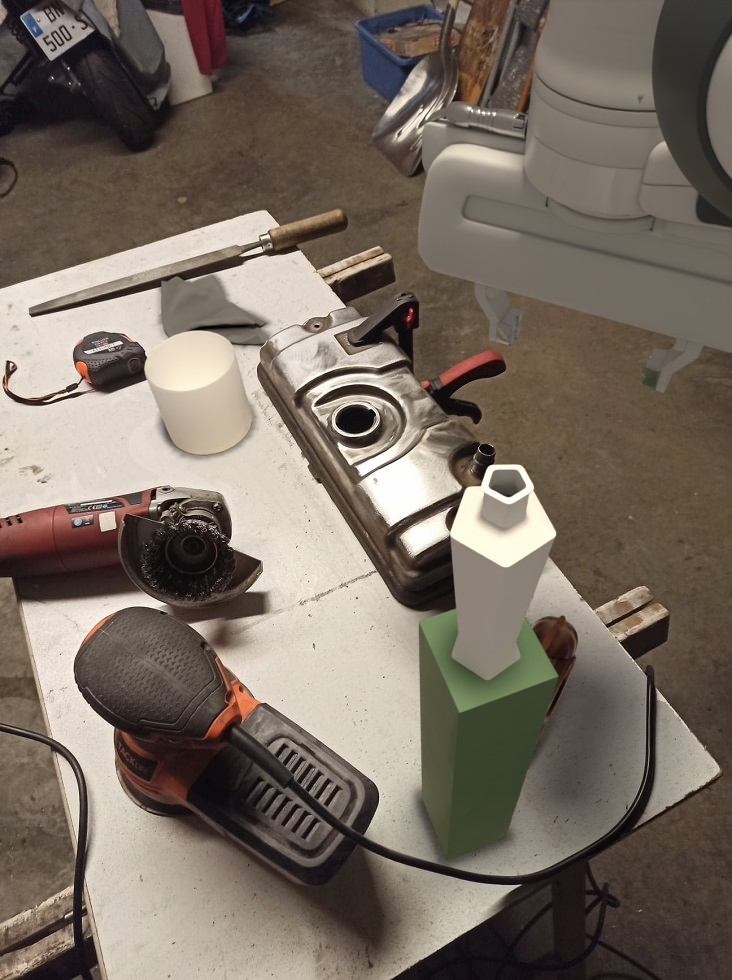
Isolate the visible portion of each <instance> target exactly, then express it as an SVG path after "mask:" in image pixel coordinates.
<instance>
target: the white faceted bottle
mask: <svg viewBox="0 0 732 980" xmlns="http://www.w3.org/2000/svg"><path fill="white" fill-rule="evenodd" d="M534 490H535V486H534V483H533V482H532V480H531V479H530V476H529V475H528V473H527V471H526V469H525V467H523V466H522V465H520V464H491V465H488V467H487V468H486V470H485V473H484V476H483V479H482V482H481V485H478V486H475V485H473V486H468V487H467V488H465V490H464V492H463V494H462V495H463V496H462V498H461V501H460V504H459V507H458V510H457V512H456V514H455V518H454V520H453V524H452V527H451V530H450V533H449V535H450V536H449V537H450V547H451V560H452V572H453V585H454V587H453V588H454V597H455V598H454V599H455V609H456V611H457V623H458V635H457V638H456V641H455V644H454V648H453V651H452V655H451V656H452V658H453V659H454V660H456V661H457V662H459V663H460V664H462V665H463V666H465V667H466V668H468V669H469V670H471V671H472V672H474V673H475V674H477V675H478V676H480V677H481V678H483V679H485V680H490V679H492V678H493V677H495V676H496V675H498V674H499V673H501V672H502V671H503V670H505V669H506V668H508V667H509V666H511V665H512V664H513V663H515V662H516V661H518V660H519V659H520V652H519V649H518V645H517V642H516V641H517V638H518V636H519V633H520V630H521V628H522V625H523V622H524V620H525V617H526V618H527V614H528V612H529V609H530V606H531V603H532V600H533V598H534V595H535V593H536V591H537V587H538V585H539V583H540V582H539V581H540V578H541V576H542V575H543V574H542V573H543V571H544V569H545V566H546V564H547V561H548V557H549V555H550V553H551V549H552V547H553V544H554V542H555V539H556V536H557V531H556V529H555V528H554V525H553V524H552V522H551V520H550V519H549V516H548V515H547V513H546V511H545V509H544V507H543V505H542V504H541V502H540V500H539V498H538V496H537V495H536V493H535V491H534Z"/></svg>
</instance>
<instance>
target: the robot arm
mask: <svg viewBox="0 0 732 980" xmlns="http://www.w3.org/2000/svg"><path fill="white" fill-rule="evenodd" d="M543 26H544V27H543V29H542V32H541V34H540V37H539V39H538V42H537V46H536V49H535V54H534V61H533V69H532V79H531V87H530V88H531V89H530V97H529V106H528V107H529V108H528V112H523V111H516V110H513V109H512V110H511V109H505V108H492V107H491V108H490V107H482V106H478V105H477V104H475V103H472V102H469V101H461V100H460V101H459V100H458V101H457V100H456V101H450V103H449V104H448V105H447V107H442V108H439V109H437V110H435V111H433V112H432V113H431V114H430V115H429V116H428V118H427V119H426V121H425V123H424V125H423V128H422V133H421V162H422V166H423V170H424V172H425V174H426V177H425V182H424V186H423V192H422V198H421V204H420V211H419V219H418V229H417V230H418V231H417V253H418V254H419V256H420V258H421V259H422V261H423V262H424V264H425V265H426V266H427V268H428V269H429V270H431V271H432V272H436V273H439V274H443V275H446V276H451V277H454V278H457V279H461V280H465V281H469V282H472V283H474V286H473V295H474V297H475V299H476V301H477V302H478V304H479V306H480V308H481V310H482V312H483V313H484V315H485V317H486V319H487V320H489V327H488V340H489V341H492V342H494V343H497V344H500V345H505V346H508V347H512V346H513V344H514V343H515V340H517V339H518V337H519V336H520V333H521V330H522V323H521V322H522V320H523V315H524V309H522V308H518V307H514V306H512V303H511V302H510V300H509V297H508V294H507V292H509V293H512V294H515V295H519V296H522V297H527V298H531V299H534V300H537V301H541V302H545V303H548V304H552V305H556V306H559V307H563V308H566V309H570V310H574V311H577V312H580V313H584V314H588V315H592V316H595V317H600V318H602V319H607V320H610V321H613V322H616V323H621V324H624V325H629V326H632V327H636V328H639V329H643V330H646V331H650V332H653V333H657V334H660V335H665V336H668V337H672V338H675V341H674V344H673V346H671V347H670V348H669V349H668V350H667V349H662V348H660V347H655V346H654V347H653V348H652V350H651V352H650V354H649V357H648V358H647V360H646V362H645V364H644V367H643V370H642V372H641V375H642V376H641V378H640V379H639V383H638V386H641V387H643V388H647V389H649V390H653V391H656V392H658V393H662V394H665V392H666V390H667V388H668V385H669V383H670V381H671V378H672V376H673V375H674V374H675V373H676V372H679V371H680V370H681V369H683V368H685V367H686V366H687V365H689V364H691V363H692V362H694V361H696V360H697V359H699V357H700V355H701V353H702V350H703V348H704V347H708V348H711V349H715V350H718V351H722V352H725V353H726V352H727V353H729V354H732V0H549V7H548V12H547V16H546V20H545V23H544V25H543Z"/></svg>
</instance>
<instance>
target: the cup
mask: <svg viewBox="0 0 732 980" xmlns="http://www.w3.org/2000/svg"><path fill="white" fill-rule="evenodd" d="M240 369H241V368H240V364H239V362H238V357H237V354H236V350H235V348H234V346H233V343H232V342H230V341H229V340H227V339H226V338H225V337H223V336H221V335H219V334H217V333H213V332H209V331H189V332H184V333H180V334H177V335H174V336H172V337H168V338H165V339H164V340H163V341H160V342H159V343H158V344H157V345H156V346H155V347H154V348H153V349H152V350H151V351H150V352H149V354H148V355H147V357H146V360H145V363H144V368H143V370H144V371H143V372H144V375H145V378H146V381H147V383H148V385H149V388H150V391H151V393H152V396H153V399H154V401H155V403H156V405H157V408H158V411H159V414H160V416H161V418H162V421H163V423H164V425H165V427H166V431H167V433H168V435H169V438H170V439H171V441H172V444H173V445H174V446H176V448H178V449H179V450H181V451H183V452H185V453H189V454H192V455H199V456H200V455H201V456H204V455H206V456H207V455H214V454H219V453H222V452H224V451H227V450H229V449H231V448H232V447H234V446H236V445H238V444H239V443H240V442H241V441H242V440H243V439H244V438H245V437H246V435H248V432H250V429H251V425H252V422H253V416H252V410H251V407H250V403H249V399H248V395H247V392H246V388H245V384H244V379H243V377H242V373H241V370H240Z"/></svg>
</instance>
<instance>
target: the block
mask: <svg viewBox="0 0 732 980" xmlns="http://www.w3.org/2000/svg"><path fill="white" fill-rule="evenodd" d="M532 628H533V626H532V625H531V624H530V621H529V620H528V618H527V616H526V617H525V620H524V622H523V625H522V628H521V630H520V633H519V636H518V638H517V641H516V642H517V645H518V649H519V652H520V659H519V660H518V661H516V662H515V663H513V664H512V665H511V666H509V667H508V668H506V669H505V670H503V671H502V672H501V673H499V674H498V675H496V676H495V677H493V678H492V679H490V680H485V679H483V678H481V677H480V676H478V675H477V674H475V673H474V672H472V671H471V670H469V669H468V668H466V667H465V666H463V665H462V664H460V663H459V662H457V661H456V660H454V659H453V658H452V656H451V655H452V651H453V648H454V644H455V641H456V638H457V635H458V623H457V611H456V608H453V609H450V610H447V611H443V612H442V613H441V612H440V613H439V614H436V615H433V616H430V617H427V618H424V619H422V620H419V621H418V662H419V664H418V665H419V666H418V667H419V668H418V669H419V672H418V673H419V713H420V714H419V716H420V717H419V719H420V721H419V722H420V767H421V769H420V770H421V774H420V775H421V799H422V801H423V804H424V807H425V809H426V812H427V814H428V817H429V820H430V822H431V826H432V827H433V830H434V833H435V835H436V838H437V841H438V843H439V846H440V848H441V852H442V854H443V856H444V860H445V861H446V862H448V861H450V860H453V859H455V858H458V857H460V856H463V855H465V854H467V853H470V852H472V851H475V850H477V849H479V848H482V847H485V846H487V845H489V844H492V843H494V842H497V841H500V840H502V839H504V838H506V837H507V836H508V832H509V829H510V826H511V823H512V820H513V817H514V813H515V812H516V811H515V810H516V808H517V805H518V801H519V798H520V795H521V792H522V789H523V787H524V783H525V780H526V777H527V774H528V771H529V768H530V765H531V762H532V760H533V756H534V754H535V749H536V746H537V745H538V744H537V743H538V742H539V739H540V738H539V735H540V731H541V728H542V725H543V722H544V719H545V716H546V713H547V710H548V707H549V704H550V701H551V698H552V695H553V692H554V689H555V686H556V683H557V679H558V674H557V672H556V671H555V669H554V667H553V665H552V663H551V662H550V660H549V658H548V656H547V654H546V652H545V651H544V649H543V647H542V645H541V643H540V642H539V640H538V638H537V636H536V634H535V633H534V631H533V629H532ZM538 738H539V739H538Z"/></svg>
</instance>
